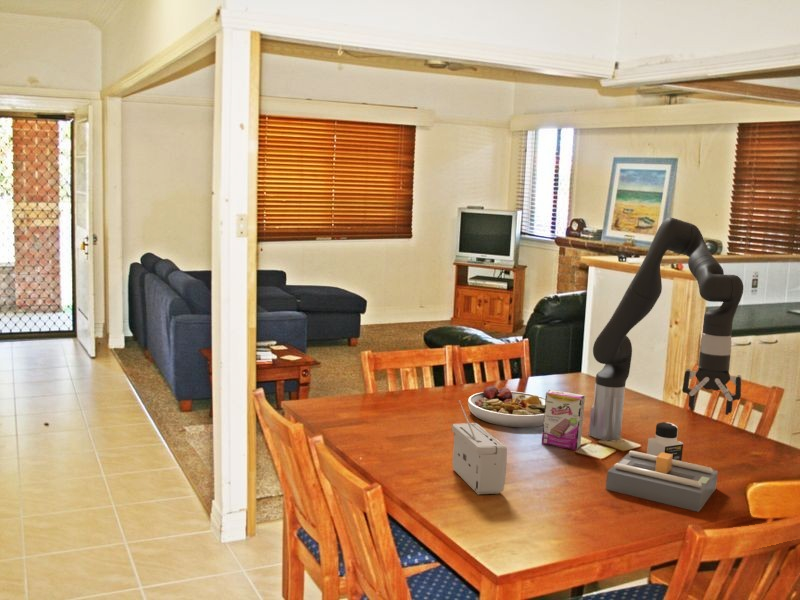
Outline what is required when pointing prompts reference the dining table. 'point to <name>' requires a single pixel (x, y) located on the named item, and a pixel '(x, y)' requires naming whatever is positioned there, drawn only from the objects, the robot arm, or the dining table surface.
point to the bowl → (508, 407)
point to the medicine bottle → (665, 441)
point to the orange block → (664, 462)
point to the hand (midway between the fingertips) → (709, 411)
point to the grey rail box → (662, 481)
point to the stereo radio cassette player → (479, 458)
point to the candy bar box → (563, 419)
